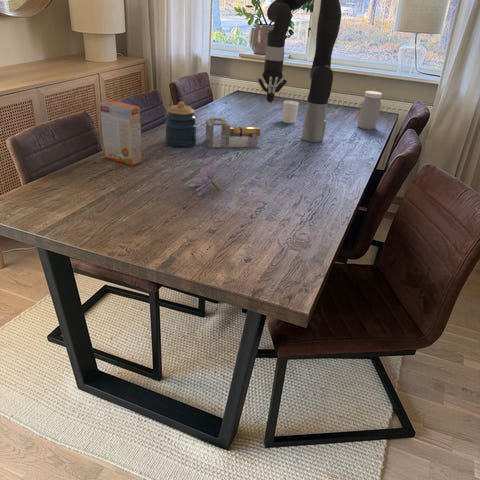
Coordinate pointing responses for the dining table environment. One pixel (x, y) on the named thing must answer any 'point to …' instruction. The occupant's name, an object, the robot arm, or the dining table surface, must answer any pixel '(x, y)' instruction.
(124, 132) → the cracker box
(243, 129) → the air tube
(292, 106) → the white cup
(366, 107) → the jar
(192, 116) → the canister
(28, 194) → the dining table surface
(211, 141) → the collar stand
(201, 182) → the water lily
